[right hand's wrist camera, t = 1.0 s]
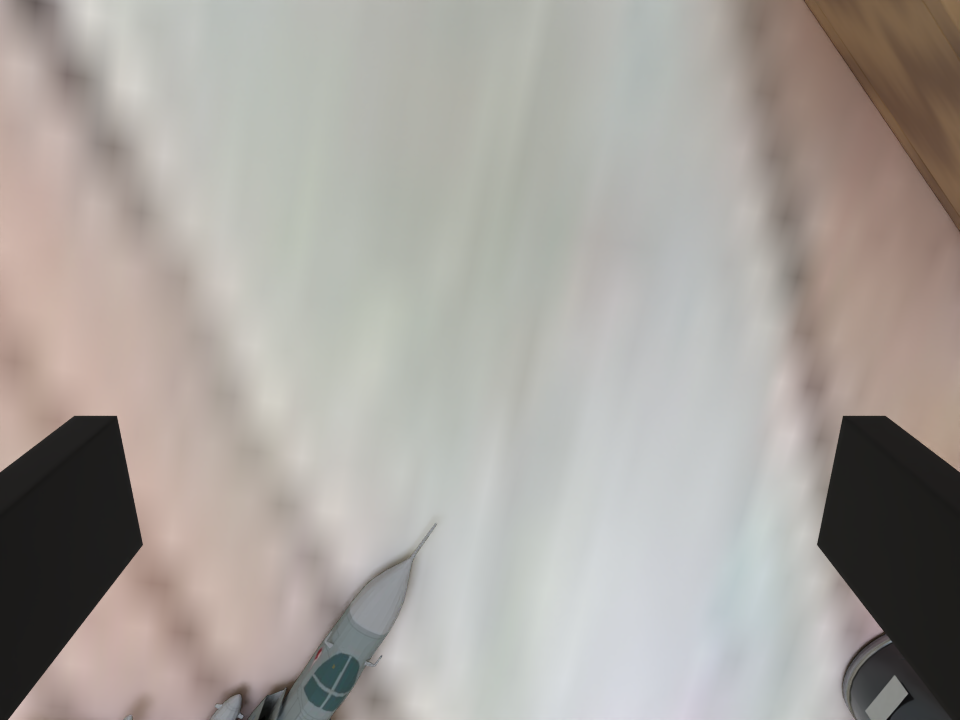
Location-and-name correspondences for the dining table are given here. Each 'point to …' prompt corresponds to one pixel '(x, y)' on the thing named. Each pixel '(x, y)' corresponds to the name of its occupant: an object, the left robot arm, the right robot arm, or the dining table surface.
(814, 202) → the dining table surface
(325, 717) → the airplane
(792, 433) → the dining table surface
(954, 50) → the wooden recessed-top box
